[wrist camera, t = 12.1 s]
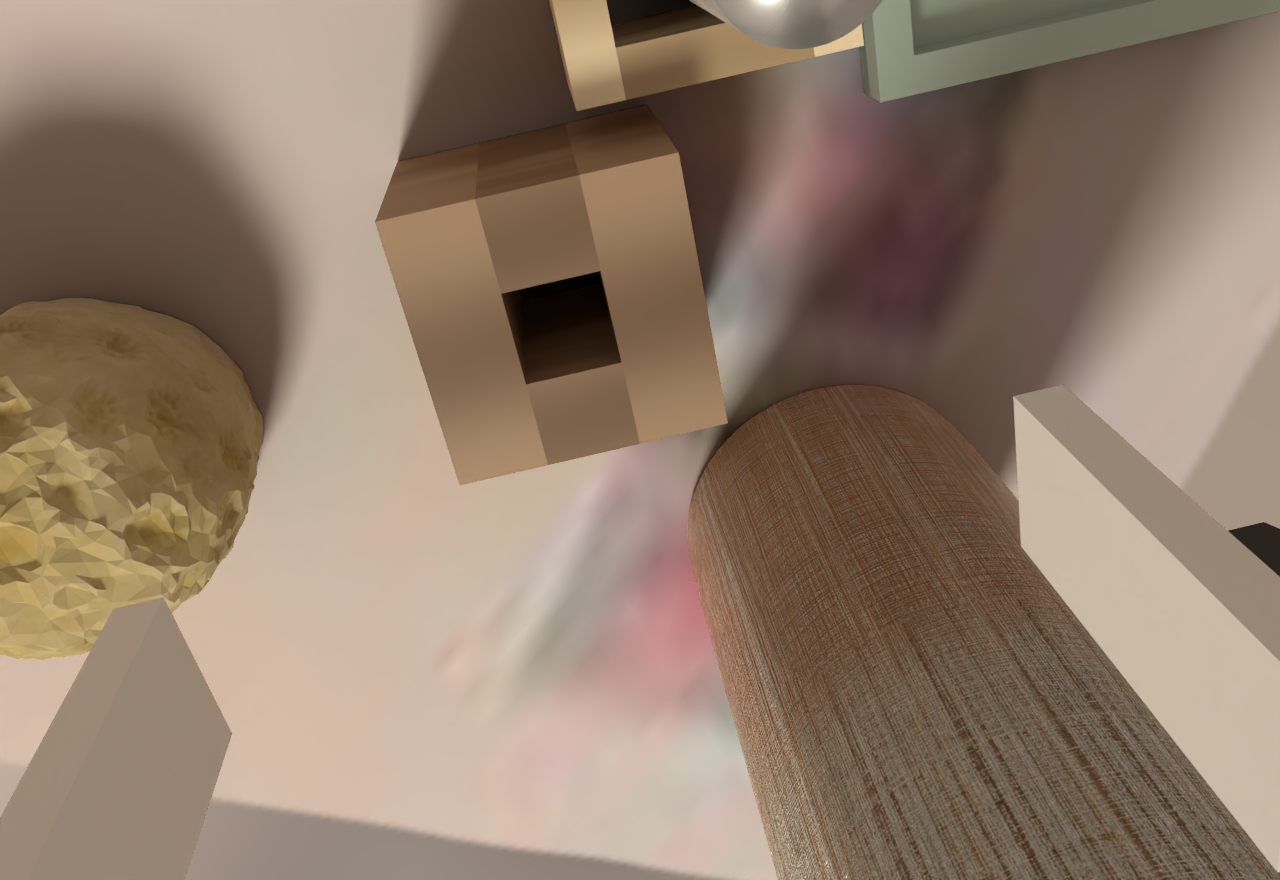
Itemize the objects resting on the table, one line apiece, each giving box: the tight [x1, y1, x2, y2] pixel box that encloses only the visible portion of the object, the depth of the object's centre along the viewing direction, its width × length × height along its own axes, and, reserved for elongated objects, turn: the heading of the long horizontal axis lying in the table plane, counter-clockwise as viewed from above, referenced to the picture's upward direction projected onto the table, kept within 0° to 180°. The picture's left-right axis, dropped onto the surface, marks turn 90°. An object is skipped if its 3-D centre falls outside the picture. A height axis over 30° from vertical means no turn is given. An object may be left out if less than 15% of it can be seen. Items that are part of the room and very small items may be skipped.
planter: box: [688, 385, 1280, 880], centre depth 27 cm, size 10×10×23 cm
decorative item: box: [0, 298, 264, 660], centre depth 30 cm, size 10×10×10 cm
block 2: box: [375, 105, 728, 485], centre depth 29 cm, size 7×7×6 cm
